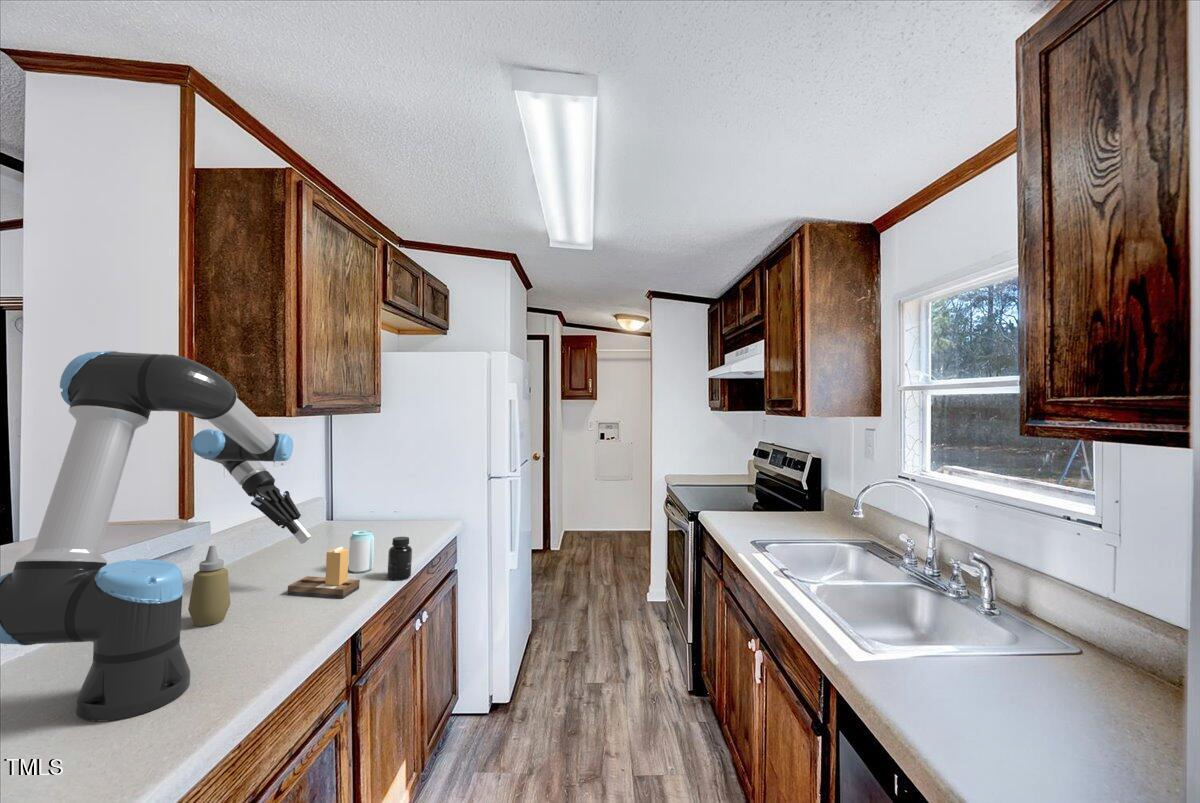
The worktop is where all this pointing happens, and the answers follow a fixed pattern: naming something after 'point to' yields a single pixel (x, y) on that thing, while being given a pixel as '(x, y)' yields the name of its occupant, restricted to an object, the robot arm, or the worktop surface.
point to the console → (322, 588)
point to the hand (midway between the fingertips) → (306, 540)
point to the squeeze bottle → (210, 591)
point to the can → (361, 551)
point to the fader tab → (337, 566)
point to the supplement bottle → (399, 559)
